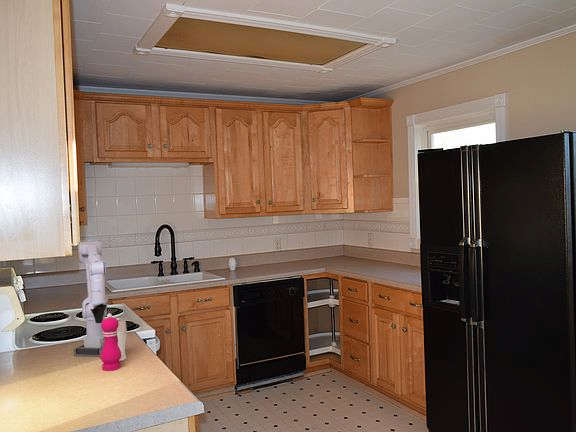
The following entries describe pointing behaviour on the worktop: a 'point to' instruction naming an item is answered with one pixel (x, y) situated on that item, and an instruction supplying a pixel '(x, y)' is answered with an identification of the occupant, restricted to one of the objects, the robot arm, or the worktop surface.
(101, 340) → the panel
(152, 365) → the worktop surface
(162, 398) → the worktop surface
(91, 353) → the rack
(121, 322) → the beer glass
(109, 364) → the pepper mill
